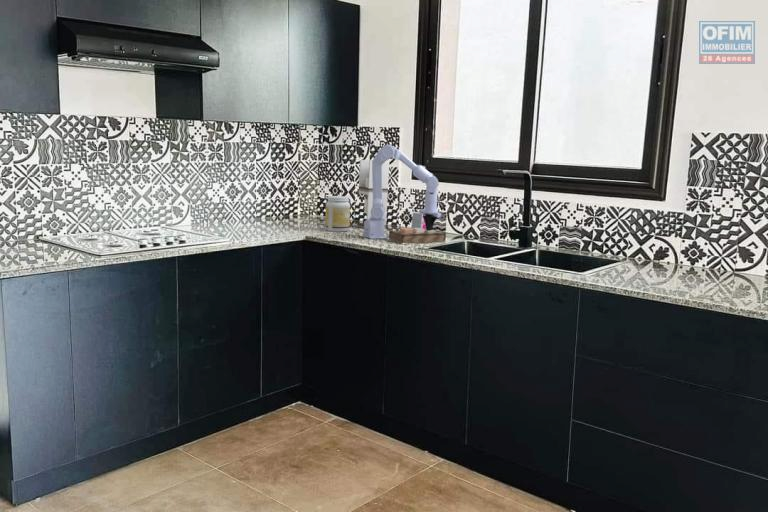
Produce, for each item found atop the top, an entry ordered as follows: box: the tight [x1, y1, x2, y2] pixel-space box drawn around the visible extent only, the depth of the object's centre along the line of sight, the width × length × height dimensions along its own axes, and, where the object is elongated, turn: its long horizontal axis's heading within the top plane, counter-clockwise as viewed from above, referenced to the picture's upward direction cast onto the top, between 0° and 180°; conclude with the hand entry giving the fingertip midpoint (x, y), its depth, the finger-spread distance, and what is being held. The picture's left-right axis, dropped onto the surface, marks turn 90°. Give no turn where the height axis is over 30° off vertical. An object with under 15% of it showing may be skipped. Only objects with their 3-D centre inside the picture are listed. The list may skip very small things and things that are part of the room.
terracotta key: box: [399, 227, 413, 233], centre depth 320 cm, size 4×4×4 cm
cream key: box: [410, 227, 424, 233], centre depth 324 cm, size 4×4×4 cm
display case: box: [356, 159, 390, 230], centre depth 358 cm, size 11×11×35 cm
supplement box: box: [411, 211, 426, 230], centre depth 343 cm, size 6×6×12 cm
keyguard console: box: [388, 229, 447, 244], centre depth 324 cm, size 24×12×4 cm, turn 122°
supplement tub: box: [324, 195, 351, 233], centre depth 344 cm, size 12×12×17 cm
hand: (429, 230), depth 327 cm, fingers closed, pressing on sage key
